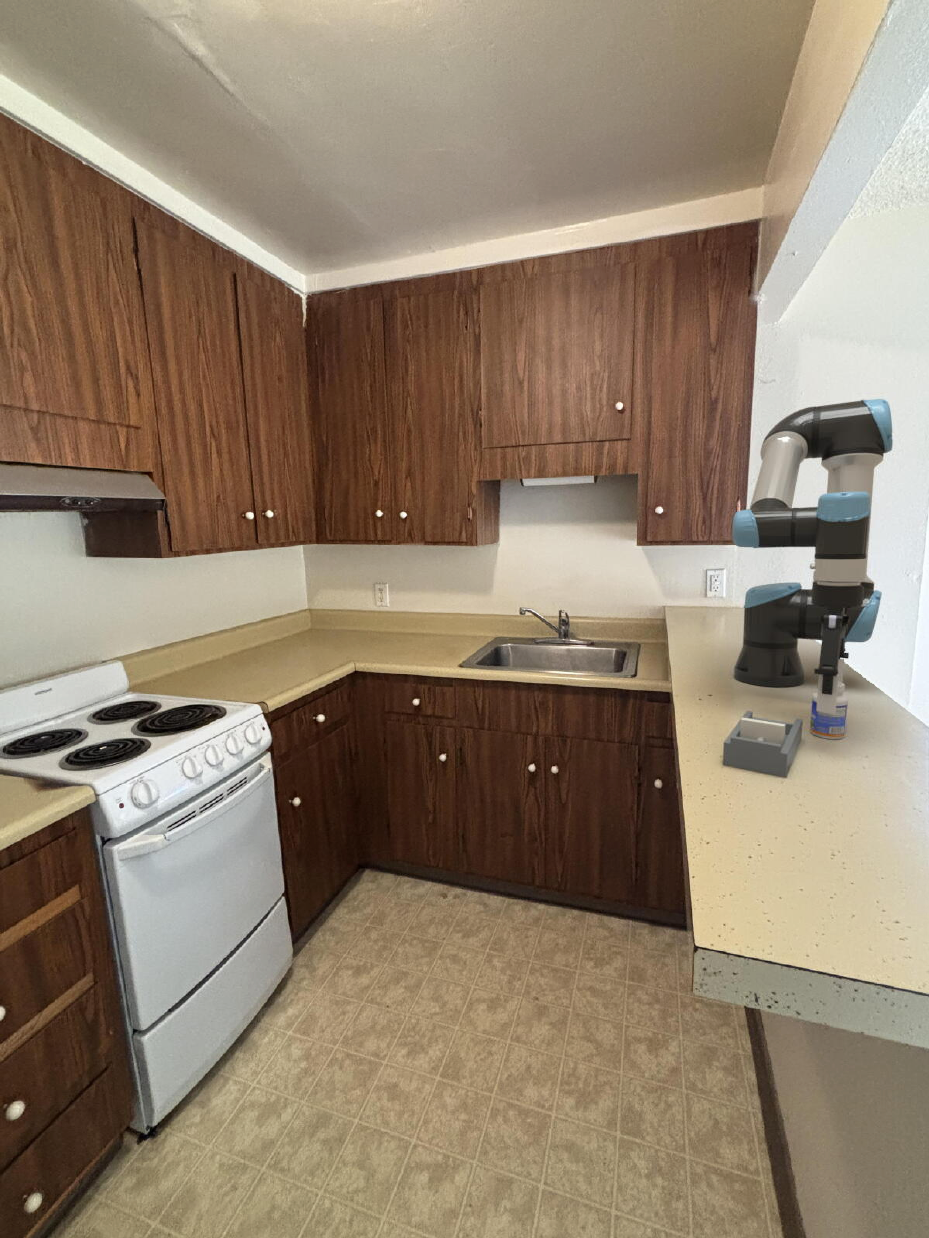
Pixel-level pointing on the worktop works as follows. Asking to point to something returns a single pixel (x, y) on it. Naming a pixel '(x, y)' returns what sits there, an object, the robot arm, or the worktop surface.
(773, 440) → the robot arm
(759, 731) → the pusher
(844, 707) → the pill bottle
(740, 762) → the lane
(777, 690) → the worktop surface
